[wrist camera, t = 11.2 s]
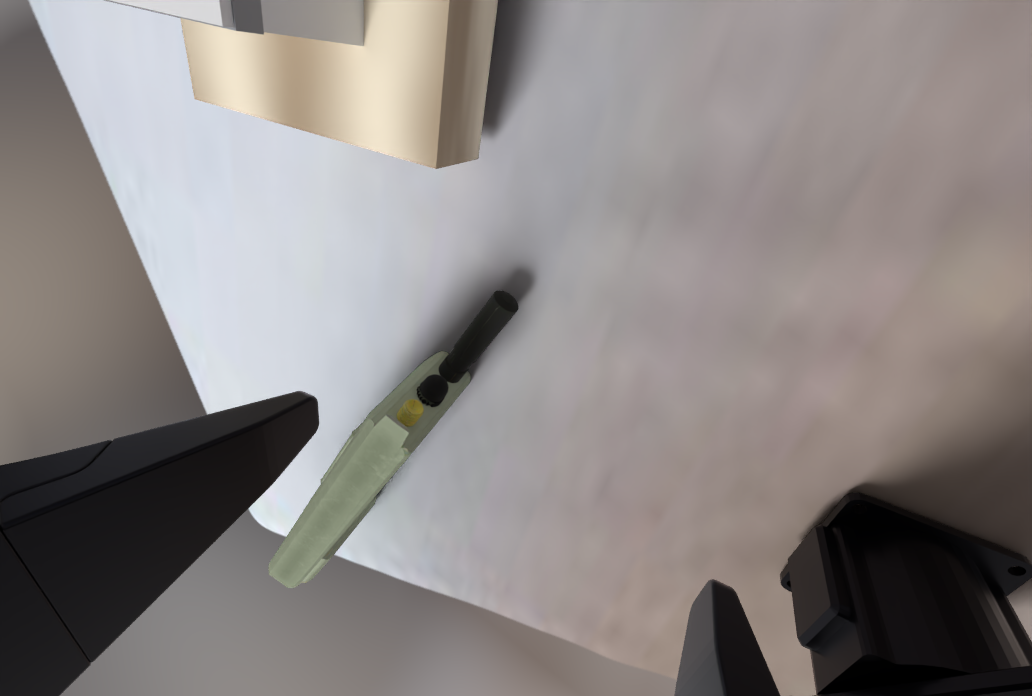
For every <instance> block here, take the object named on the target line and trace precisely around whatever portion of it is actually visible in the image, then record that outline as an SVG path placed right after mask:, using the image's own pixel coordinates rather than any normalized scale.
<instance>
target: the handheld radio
mask: <svg viewBox="0 0 1032 696" xmlns="http://www.w3.org/2000/svg"><path fill="white" fill-rule="evenodd" d="M517 310H518V303H517V301H516V300H515V299H514V298H513V297H512V296H511V295H510V294H508V293H507V292H504V291H500V290H499V291H496V292H495V293H494V294H493V296H492V297H491V298H490V299H489V301H488V302H487V303H486V305H485V306H484V307H483V309H482V310H481V311H480V313H479V314H478V315H477V317H476V318H475V319H474V321H473V322H472V323H471V325H470V326H469V327H468V329H467V330H466V331H465V333H464V334H463V335H462V337H461V338H460V339H459V341H458V342H457V343H456V344H455V346H454V350H453V351H452V352H451V354H448V353H447V352H444V351H440V352H438V353H436V354H434V355H433V356H431V357H430V358H428V359H427V360H425V361H424V362H423V363H422V364H421V365H419V366H418V367H417V368H416V369H415V370H414V371H413V372H412V373H411V374H410V375H409V376H408V377H407V378H406V379H405V380H404V381H403V382H402V383H401V384H400V385H399V386H397V387H396V388H395V389H394V390H393V391H392V392H391V393H390V394H389V395H388V396H387V397H386V398H385V399H384V400H383V401H382V402H381V403H380V404H379V405H378V406H376V407H375V408H374V409H373V410H372V411H371V412H370V413H369V415H368V416H367V417H366V419H365V420H364V422H363V423H362V424H361V425H360V426H359V427H358V428H357V429H356V430H354V431H352V434H351V436H350V437H349V439H348V440H347V442H346V443H345V445H344V446H343V448H342V449H341V451H340V452H339V454H338V455H337V457H336V458H335V460H334V461H333V463H332V464H331V466H330V467H329V469H328V470H327V472H326V473H325V475H324V476H323V478H322V479H321V485H320V486H319V488H318V489H317V491H316V492H315V494H314V495H313V497H312V498H311V500H310V501H309V503H308V505H307V506H306V508H305V509H304V511H303V512H302V514H301V515H300V517H299V519H298V520H297V522H296V523H295V525H294V526H293V528H292V529H291V531H290V532H289V534H288V535H287V537H286V538H285V540H284V542H283V543H282V545H281V546H280V547H279V549H278V551H277V552H276V554H275V555H274V557H273V558H272V560H271V561H270V563H269V567H268V569H269V575H271V576H272V577H273V578H275V579H276V580H278V581H279V582H281V583H282V584H283V585H285V586H286V587H288V588H294V587H297V586H298V585H299V584H300V583H306V582H308V581H310V580H312V579H313V578H314V577H315V576H316V574H317V573H318V572H319V571H320V570H321V569H322V568H323V566H324V565H325V564H326V563H327V562H328V561H329V560H330V558H331V557H332V556H333V555H334V554H335V553H336V551H337V550H338V549H339V548H340V546H341V545H342V544H343V543H344V541H345V540H346V539H347V538H348V536H349V535H350V534H351V533H352V532H353V530H354V529H355V528H356V527H357V525H358V524H359V523H360V522H361V520H362V519H363V518H364V517H365V515H366V514H367V513H368V512H369V510H370V509H371V508H372V507H373V506H374V504H375V501H376V498H377V497H376V495H377V494H378V492H379V491H380V490H381V489H382V488H383V487H384V485H385V484H386V483H387V482H388V481H389V480H390V478H391V477H392V476H393V475H394V474H395V473H396V471H397V470H398V469H399V468H400V467H401V466H402V464H403V463H404V462H405V461H406V460H407V459H408V457H409V456H410V455H411V453H412V452H413V451H414V450H415V449H416V448H417V446H418V445H419V444H420V443H421V442H422V440H423V439H424V438H425V437H426V435H427V434H428V433H429V432H430V431H431V429H432V428H433V427H434V426H435V424H436V423H437V422H438V421H439V420H440V418H441V417H442V416H443V415H444V414H445V412H446V411H447V410H448V409H449V407H450V406H451V405H452V404H453V403H454V401H455V400H456V399H457V398H458V396H459V395H460V394H461V393H462V392H463V390H464V389H465V388H466V387H467V385H468V384H469V383H470V380H471V376H470V374H469V372H468V367H469V366H470V365H471V364H472V363H474V362H475V361H476V360H477V359H478V358H479V356H480V355H481V354H482V353H483V352H484V350H485V349H486V348H487V347H488V346H489V344H490V343H491V342H492V341H493V339H494V338H495V337H496V336H497V335H498V333H499V332H500V331H501V330H502V329H503V327H504V326H505V325H506V324H507V323H508V321H509V320H510V319H511V318H512V316H513V315H514V314H515V313H516V312H517Z"/></svg>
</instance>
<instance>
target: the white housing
mask: <svg viewBox="0 0 1032 696" xmlns="http://www.w3.org/2000/svg"><path fill="white" fill-rule="evenodd" d="M105 1H109V2H113V3H118V4H122V5H126V6H131V7H135V8H139V9H144V10H148V11H152V12H156V13H161V14H165V15H169V16H174V17H178V18H182V19H187V20H191V21H195V22H200V23H204V24H208V25H213V26H217V27H221V28H226V29H230V30H234V31H240V32H248V33H255V34H262V35H264V32H266V33H273V34H280V35H287V36H294V37H301V38H308V39H315V40H322V41H329V42H336V43H343V44H350V45H357V46H364V0H105Z"/></svg>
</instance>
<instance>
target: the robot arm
mask: <svg viewBox="0 0 1032 696" xmlns="http://www.w3.org/2000/svg"><path fill="white" fill-rule="evenodd" d="M318 426H319V413H318V401H317V399H316V397H314V396H312V395H310V394H308V393H306V392H303V391H297V392H293V393H289V394H285V395H281V396H277V397H273V398H270V399H266V400H262V401H258V402H254V403H250V404H246V405H243V406H239V407H235V408H231V409H227V410H223V411H220V412H216V413H212V414H208V415H205V416H200V417H196V418H193V419H189V420H185V421H181V422H177V423H173V424H170V425H166V426H162V427H158V428H154V429H150V430H147V431H143V432H139V433H135V434H131V435H127V436H124V437H119V438H116V439H114V440H113V441H111V440H107V441H104V442H100V443H97V444H92V445H89V446H84V447H80V448H76V449H72V450H68V451H64V452H60V453H56V454H51V455H47V456H42V457H38V458H33V459H29V460H24V461H19V462H15V463H10V464H5V465H0V696H59V695H61V694H62V693H63V692H64V691H65V690H66V689H67V688H68V687H69V686H70V685H71V684H72V683H73V682H74V681H75V680H76V679H77V678H78V677H79V676H80V675H81V674H82V673H83V672H84V671H85V670H86V669H87V668H88V667H89V666H90V664H91V662H93V661H95V660H96V658H97V657H98V656H100V655H101V654H102V653H103V652H104V651H105V649H107V648H108V647H109V646H110V645H111V644H112V643H113V642H114V641H115V640H116V639H117V638H118V637H119V636H120V635H121V634H122V633H123V632H124V631H125V630H126V629H127V628H128V627H129V626H130V625H131V624H132V623H133V622H134V621H135V620H136V619H137V618H138V617H139V616H140V615H141V614H142V613H143V612H144V611H145V610H146V609H147V608H148V607H149V606H150V605H151V604H152V603H153V602H154V601H155V600H156V599H157V598H158V597H159V596H160V595H161V594H162V593H163V592H164V591H165V590H166V589H167V588H168V587H169V586H170V585H171V584H172V583H173V582H174V581H175V580H176V579H177V578H178V577H179V576H180V575H181V574H182V573H183V572H184V571H185V570H186V569H188V568H189V567H190V566H191V564H193V563H194V562H195V561H196V560H197V559H198V558H199V557H200V556H201V555H202V554H203V553H204V552H205V551H206V550H207V549H208V548H209V547H210V546H211V545H212V544H213V543H214V542H215V541H216V540H217V539H218V538H219V537H220V536H221V535H222V534H223V533H224V532H225V531H226V530H227V529H228V528H229V527H230V526H231V525H232V524H233V523H234V522H235V521H236V520H237V519H238V518H239V517H240V516H241V515H242V514H243V513H244V512H245V511H246V510H247V509H248V508H249V507H250V506H251V505H252V504H253V503H254V502H255V501H256V500H257V499H258V498H259V497H260V496H261V495H262V494H263V493H264V492H265V491H266V490H267V489H268V488H269V487H270V486H271V485H272V484H273V483H274V482H275V481H276V479H277V478H278V477H279V476H280V475H281V474H282V472H283V471H284V470H285V469H286V468H287V466H288V465H289V464H290V463H291V462H292V460H293V459H294V458H295V457H296V456H297V454H298V453H299V452H300V451H301V450H302V448H303V447H304V446H305V445H306V444H307V442H308V441H309V440H310V439H311V438H312V436H313V435H314V434H315V433H316V431H317V429H318ZM856 504H861V505H863V506H861V507H856V506H854V505H856ZM1012 566H1017V567H1012ZM1031 578H1032V564H1031V563H1030V561H1029V560H1028V559H1027V557H1025V556H1023V555H1021V554H1018V553H1016V552H1013V551H1011V550H1008V549H1005V548H1003V547H1000V546H998V545H995V544H993V543H990V542H987V541H985V540H982V539H980V538H977V537H974V536H972V535H969V534H967V533H964V532H961V531H959V530H956V529H954V528H951V527H948V526H946V525H943V524H941V523H938V522H935V521H933V520H930V519H928V518H925V517H922V516H920V515H917V514H915V513H912V512H909V511H907V510H904V509H902V508H899V507H896V506H894V505H891V504H889V503H886V502H883V501H881V500H878V499H876V498H873V497H870V496H868V495H865V494H862V493H851V494H848V495H846V496H845V497H844V498H843V499H842V500H841V501H840V503H839V504H838V505H837V506H836V507H835V509H834V510H833V511H832V512H831V513H830V515H829V516H828V517H827V518H826V519H825V521H824V522H823V523H822V524H821V525H818V526H816V527H814V528H813V529H812V530H811V532H810V533H809V534H808V535H807V537H806V538H805V539H804V540H803V541H802V543H801V544H800V545H799V546H798V547H797V549H796V550H795V551H794V552H793V553H792V555H791V556H790V557H789V558H788V565H787V566H786V567H785V568H784V569H783V571H782V572H781V574H780V580H781V585H782V586H783V587H784V588H785V589H787V590H788V591H791V592H792V598H793V606H794V614H795V622H796V631H797V638H798V640H799V642H800V644H801V645H802V646H803V647H805V648H807V649H810V652H811V659H812V666H813V673H814V680H815V687H816V694H817V695H814V696H1032V642H1031V640H1030V638H1029V636H1028V634H1027V633H1026V631H1025V629H1024V627H1023V625H1022V624H1021V622H1020V620H1019V618H1018V616H1017V615H1016V613H1015V611H1014V609H1013V607H1012V606H1011V604H1010V602H1009V600H1008V598H1007V597H1006V596H1007V595H1009V594H1010V593H1012V592H1013V591H1014V590H1016V589H1017V588H1018V587H1020V586H1021V585H1022V584H1024V583H1025V582H1026V581H1028V580H1029V579H1031ZM674 696H780V694H779V692H778V689H777V687H776V685H775V682H774V680H773V678H772V675H771V673H770V671H769V668H768V666H767V664H766V661H765V659H764V657H763V654H762V652H761V650H760V647H759V645H758V643H757V640H756V638H755V636H754V633H753V631H752V629H751V626H750V624H749V622H748V619H747V617H746V615H745V612H744V610H743V608H742V605H741V603H740V601H739V598H738V596H737V594H736V592H735V591H734V589H733V588H731V587H730V586H727V585H725V584H723V583H721V582H719V581H717V580H714V579H712V580H709V581H708V582H707V584H706V585H705V586H704V588H703V589H702V591H701V592H700V594H699V595H698V596H697V598H696V599H695V601H694V602H693V604H692V607H691V610H690V614H689V619H688V625H687V630H686V635H685V641H684V646H683V651H682V657H681V662H680V667H679V673H678V678H677V683H676V689H675V695H674Z"/></svg>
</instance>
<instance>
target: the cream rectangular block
mask: <svg viewBox="0 0 1032 696" xmlns="http://www.w3.org/2000/svg"><path fill="white" fill-rule="evenodd" d="M497 5H498V0H364V46H357V45H350V44H343V43H336V42H329V41H322V40H315V39H308V38H301V37H294V36H287V35H280V34H273V33H266V32H264V35H262V34H255V33H248V32H240V31H234V30H230V29H226V28H221V27H217V26H213V25H208V24H204V23H200V22H195V21H191V20H187V19H182V18H181V24H182V29H183V35H184V41H185V47H186V52H187V58H188V64H189V70H190V75H191V81H192V87H193V93H194V98H195V99H196V100H200V101H203V102H206V103H210V104H213V105H217V106H220V107H224V108H227V109H231V110H234V111H238V112H241V113H244V114H248V115H251V116H255V117H258V118H262V119H265V120H269V121H272V122H276V123H279V124H282V125H286V126H289V127H293V128H296V129H300V130H303V131H307V132H310V133H314V134H317V135H320V136H324V137H327V138H331V139H334V140H338V141H341V142H345V143H348V144H352V145H355V146H358V147H362V148H365V149H369V150H372V151H376V152H379V153H383V154H386V155H390V156H393V157H396V158H400V159H403V160H407V161H410V162H414V163H417V164H421V165H424V166H428V167H431V168H435V169H438V168H442V167H446V166H450V165H455V164H459V163H463V162H467V161H471V160H476V159H478V157H479V149H480V141H481V133H482V125H483V117H484V109H485V101H486V93H487V85H488V77H489V69H490V61H491V53H492V45H493V37H494V29H495V21H496V13H497Z"/></svg>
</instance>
